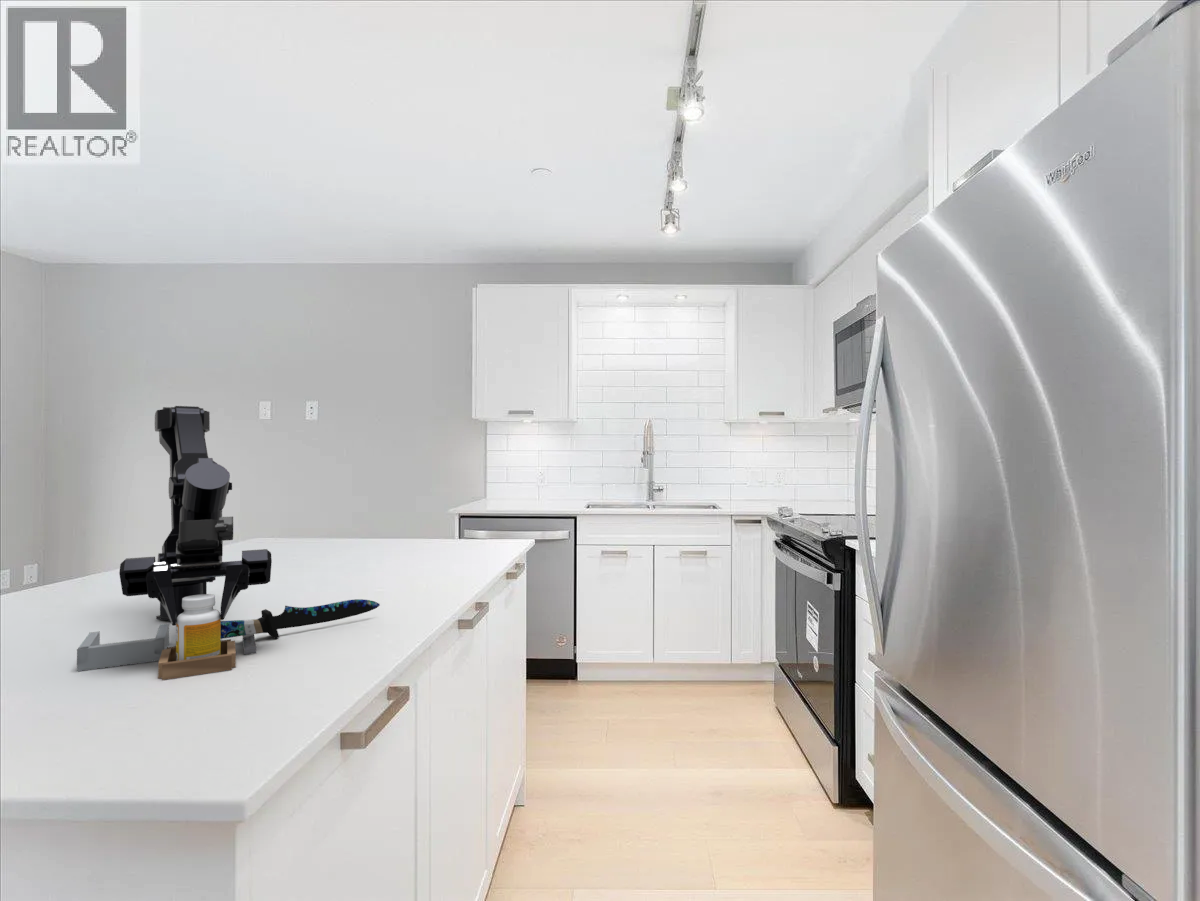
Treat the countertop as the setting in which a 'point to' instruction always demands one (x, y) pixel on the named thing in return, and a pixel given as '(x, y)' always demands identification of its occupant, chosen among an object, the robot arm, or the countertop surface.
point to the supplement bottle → (198, 628)
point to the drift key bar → (249, 644)
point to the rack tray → (120, 650)
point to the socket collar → (196, 662)
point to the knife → (296, 618)
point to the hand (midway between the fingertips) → (198, 621)
